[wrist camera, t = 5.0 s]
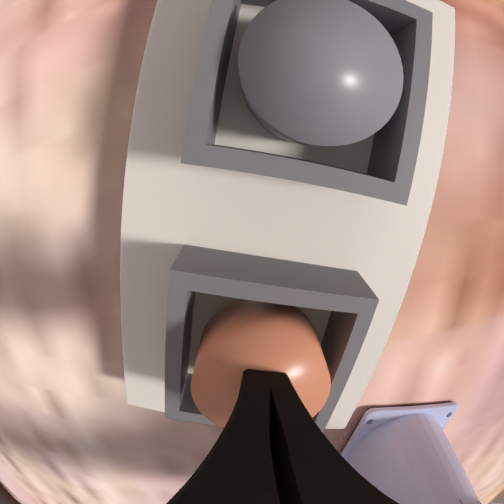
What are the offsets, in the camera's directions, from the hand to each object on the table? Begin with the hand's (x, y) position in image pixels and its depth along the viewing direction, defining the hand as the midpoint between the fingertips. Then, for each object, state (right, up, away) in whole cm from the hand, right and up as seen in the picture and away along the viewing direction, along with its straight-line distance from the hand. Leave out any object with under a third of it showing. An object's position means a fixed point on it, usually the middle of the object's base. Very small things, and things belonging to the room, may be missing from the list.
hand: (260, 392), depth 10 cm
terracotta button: (0, +1, +2) cm, 2 cm away
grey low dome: (+2, +10, 0) cm, 11 cm away
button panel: (+1, +6, +4) cm, 8 cm away
